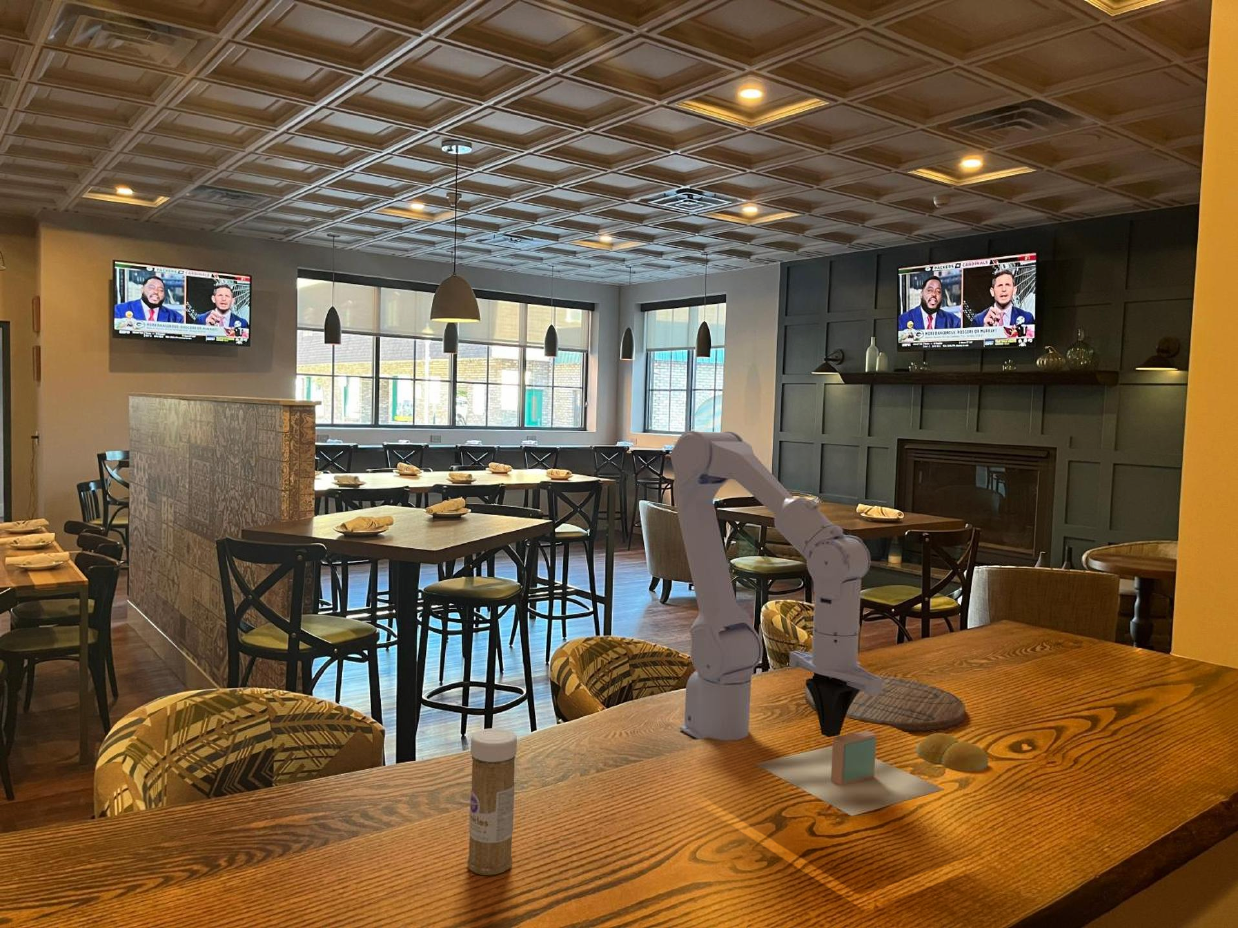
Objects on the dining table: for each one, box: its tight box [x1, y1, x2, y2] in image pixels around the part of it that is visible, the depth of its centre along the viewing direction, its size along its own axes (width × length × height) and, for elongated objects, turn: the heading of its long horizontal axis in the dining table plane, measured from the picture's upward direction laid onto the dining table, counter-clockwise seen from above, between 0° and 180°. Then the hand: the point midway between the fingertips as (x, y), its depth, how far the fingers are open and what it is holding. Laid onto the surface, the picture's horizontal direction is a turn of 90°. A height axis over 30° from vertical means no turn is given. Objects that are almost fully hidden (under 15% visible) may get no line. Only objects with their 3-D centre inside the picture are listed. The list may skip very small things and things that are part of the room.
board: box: [754, 745, 945, 817], centre depth 114 cm, size 17×16×1 cm
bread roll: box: [915, 732, 989, 772], centre depth 122 cm, size 8×9×4 cm
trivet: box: [804, 674, 966, 734], centre depth 146 cm, size 25×25×2 cm
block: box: [831, 730, 877, 786], centre depth 113 cm, size 2×6×6 cm, turn 122°
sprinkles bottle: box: [467, 727, 518, 876], centre depth 90 cm, size 5×5×13 cm
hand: (830, 734), depth 116 cm, fingers closed
